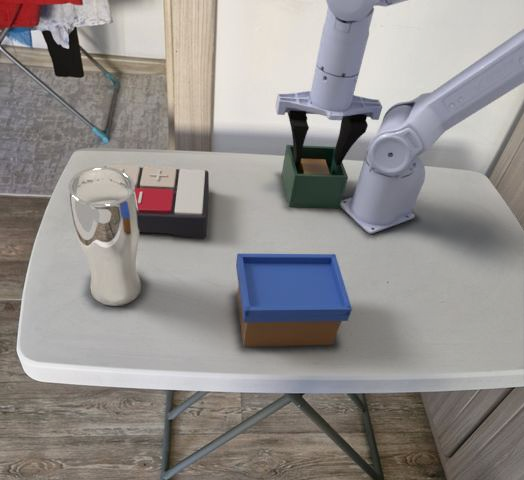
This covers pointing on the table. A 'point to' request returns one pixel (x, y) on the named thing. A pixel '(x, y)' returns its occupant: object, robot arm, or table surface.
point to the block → (313, 167)
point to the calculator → (170, 199)
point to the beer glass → (107, 231)
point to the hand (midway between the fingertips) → (316, 160)
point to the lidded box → (290, 299)
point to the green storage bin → (313, 180)
